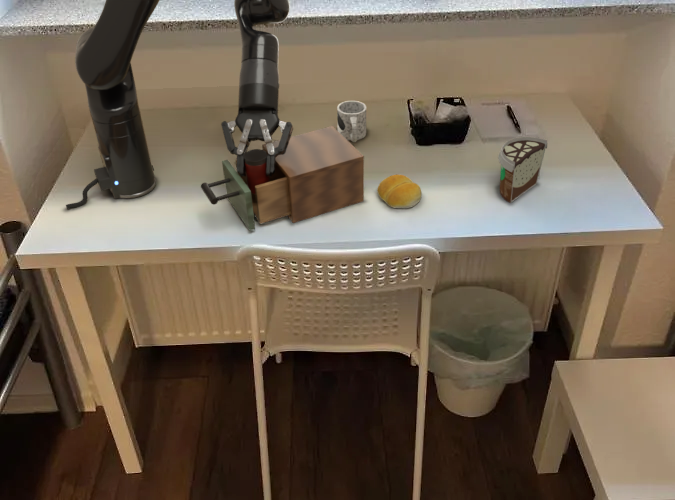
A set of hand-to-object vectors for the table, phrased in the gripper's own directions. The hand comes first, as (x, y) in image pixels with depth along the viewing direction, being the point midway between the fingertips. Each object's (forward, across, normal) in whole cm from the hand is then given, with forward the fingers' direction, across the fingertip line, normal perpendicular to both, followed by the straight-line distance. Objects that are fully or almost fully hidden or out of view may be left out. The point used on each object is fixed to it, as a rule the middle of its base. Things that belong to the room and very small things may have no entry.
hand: (255, 175), depth 133 cm
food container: (-1, +50, +15) cm, 53 cm away
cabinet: (+1, +10, +12) cm, 16 cm away
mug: (-15, +17, +29) cm, 37 cm away
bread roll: (+2, +27, +12) cm, 30 cm away
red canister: (+1, 0, +4) cm, 4 cm away
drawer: (+5, 0, +7) cm, 9 cm away
